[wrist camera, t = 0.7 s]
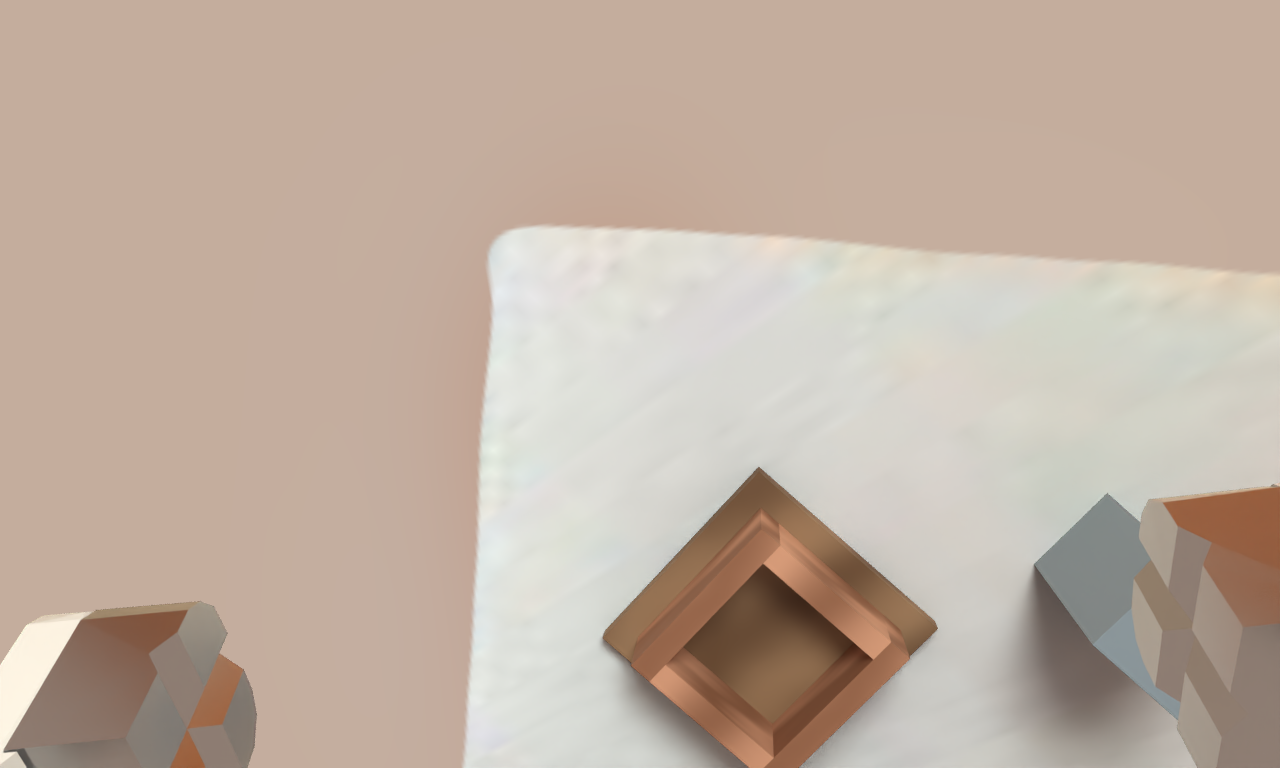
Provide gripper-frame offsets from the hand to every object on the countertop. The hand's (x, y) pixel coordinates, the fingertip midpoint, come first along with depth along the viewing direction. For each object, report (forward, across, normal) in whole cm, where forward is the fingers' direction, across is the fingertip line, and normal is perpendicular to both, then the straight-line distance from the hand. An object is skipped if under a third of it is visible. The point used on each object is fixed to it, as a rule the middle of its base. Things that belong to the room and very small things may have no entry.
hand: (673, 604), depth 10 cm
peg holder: (+36, +2, -35) cm, 50 cm away
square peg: (+36, +19, -33) cm, 52 cm away
